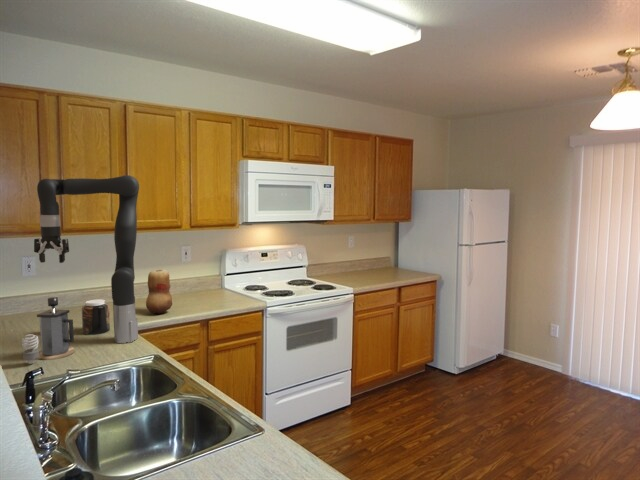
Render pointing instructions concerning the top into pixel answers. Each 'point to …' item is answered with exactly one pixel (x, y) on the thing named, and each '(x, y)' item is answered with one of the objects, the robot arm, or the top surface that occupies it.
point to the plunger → (53, 303)
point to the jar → (95, 317)
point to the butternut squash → (158, 291)
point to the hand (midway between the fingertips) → (52, 262)
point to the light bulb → (30, 353)
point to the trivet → (42, 357)
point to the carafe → (55, 332)
